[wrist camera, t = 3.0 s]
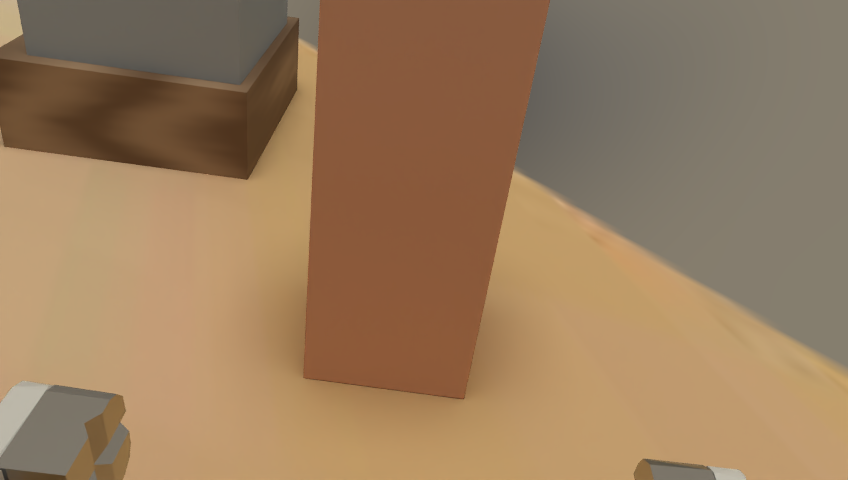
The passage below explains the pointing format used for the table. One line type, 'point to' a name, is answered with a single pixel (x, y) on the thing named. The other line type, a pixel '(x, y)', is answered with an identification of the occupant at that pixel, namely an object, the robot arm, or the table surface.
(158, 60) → the tower top block
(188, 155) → the tower base block
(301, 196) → the table surface
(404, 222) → the terracotta block
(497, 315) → the table surface
